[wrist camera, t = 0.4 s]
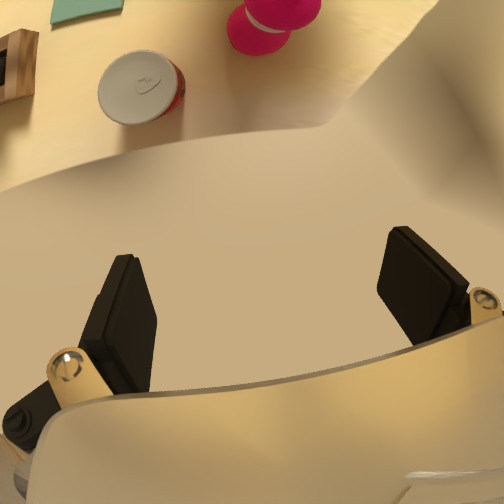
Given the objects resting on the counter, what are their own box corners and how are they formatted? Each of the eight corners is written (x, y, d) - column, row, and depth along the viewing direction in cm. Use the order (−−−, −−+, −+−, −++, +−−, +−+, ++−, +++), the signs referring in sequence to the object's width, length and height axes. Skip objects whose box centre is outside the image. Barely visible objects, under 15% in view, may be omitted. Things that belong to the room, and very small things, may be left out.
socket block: (-7, 51, 21) (-26, 51, 16) (39, 32, 22) (21, 28, 18) (-10, 108, 26) (-29, 113, 21) (34, 94, 27) (15, 96, 23)
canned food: (197, 91, 32) (193, 89, 23) (149, 129, 34) (127, 142, 25) (163, 49, 29) (146, 33, 19) (115, 88, 30) (83, 88, 21)
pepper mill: (250, 69, 32) (294, 45, 15) (213, 32, 28) (218, -27, 11) (292, 38, 30) (366, 0, 13) (255, 2, 27) (300, -67, 10)
